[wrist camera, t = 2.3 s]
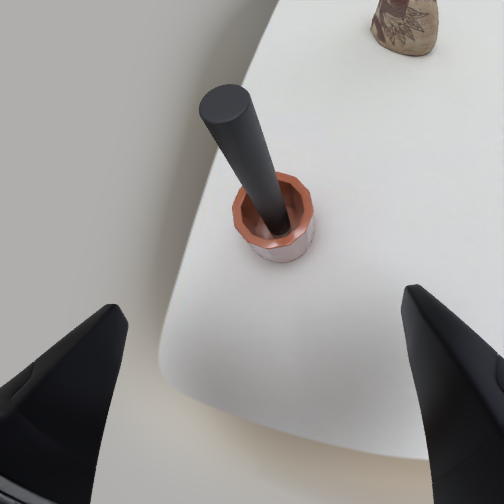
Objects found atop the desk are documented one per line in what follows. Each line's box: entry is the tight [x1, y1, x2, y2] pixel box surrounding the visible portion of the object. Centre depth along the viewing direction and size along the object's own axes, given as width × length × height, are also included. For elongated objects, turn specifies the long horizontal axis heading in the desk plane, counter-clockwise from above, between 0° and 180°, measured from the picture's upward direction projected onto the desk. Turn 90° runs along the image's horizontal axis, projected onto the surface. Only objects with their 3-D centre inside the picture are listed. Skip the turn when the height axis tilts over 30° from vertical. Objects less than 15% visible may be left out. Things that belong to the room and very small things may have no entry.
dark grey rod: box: [199, 84, 292, 239], centre depth 14 cm, size 2×2×14 cm
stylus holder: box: [232, 172, 314, 263], centre depth 19 cm, size 4×4×5 cm
